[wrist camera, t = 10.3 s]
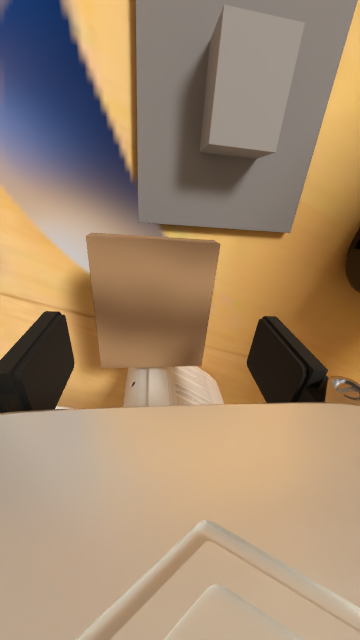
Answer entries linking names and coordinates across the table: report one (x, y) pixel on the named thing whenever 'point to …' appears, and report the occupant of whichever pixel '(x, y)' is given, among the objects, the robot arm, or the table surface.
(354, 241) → the end cap
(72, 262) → the table surface
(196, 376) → the photo printer
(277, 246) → the table surface
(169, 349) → the walnut board
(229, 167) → the rubber mat
